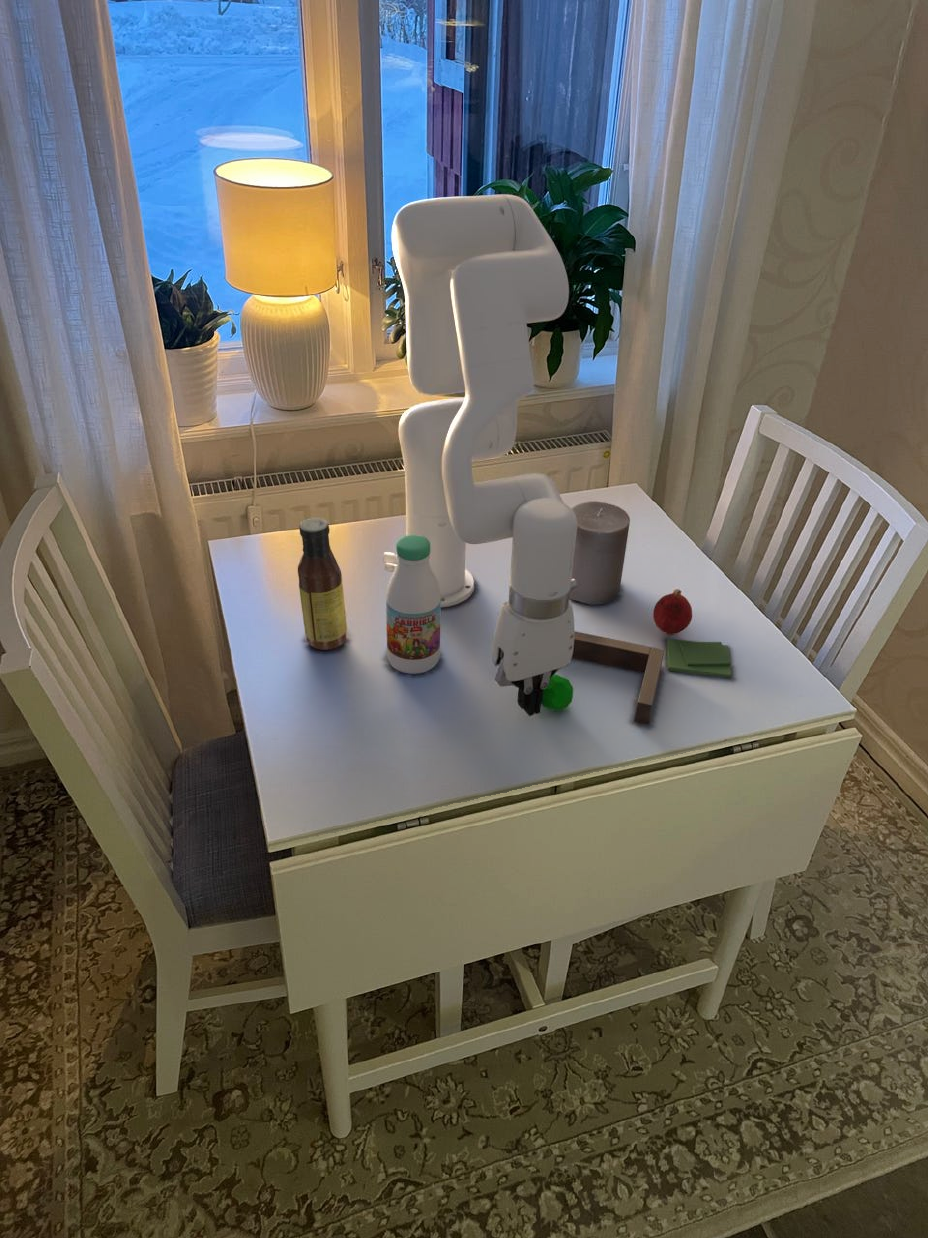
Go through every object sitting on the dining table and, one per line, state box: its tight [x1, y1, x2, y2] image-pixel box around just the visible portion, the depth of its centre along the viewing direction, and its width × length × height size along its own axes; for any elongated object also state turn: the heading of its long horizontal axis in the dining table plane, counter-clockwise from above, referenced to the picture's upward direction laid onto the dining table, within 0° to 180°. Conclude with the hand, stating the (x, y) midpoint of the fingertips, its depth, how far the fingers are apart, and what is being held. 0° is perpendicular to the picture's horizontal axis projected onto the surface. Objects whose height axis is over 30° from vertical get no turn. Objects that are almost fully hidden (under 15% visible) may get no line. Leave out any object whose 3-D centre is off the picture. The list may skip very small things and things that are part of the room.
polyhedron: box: [541, 673, 574, 712], centre depth 128 cm, size 5×5×5 cm
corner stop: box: [571, 630, 666, 725], centre depth 133 cm, size 18×13×4 cm
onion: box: [652, 588, 693, 635], centre depth 141 cm, size 6×6×8 cm
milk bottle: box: [385, 534, 442, 675], centre depth 131 cm, size 8×8×20 cm
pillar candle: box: [570, 500, 631, 606], centre depth 149 cm, size 10×10×15 cm
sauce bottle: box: [297, 517, 348, 651], centre depth 134 cm, size 7×6×20 cm
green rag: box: [666, 638, 732, 679], centre depth 138 cm, size 9×7×1 cm
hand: (529, 708), depth 127 cm, fingers closed
